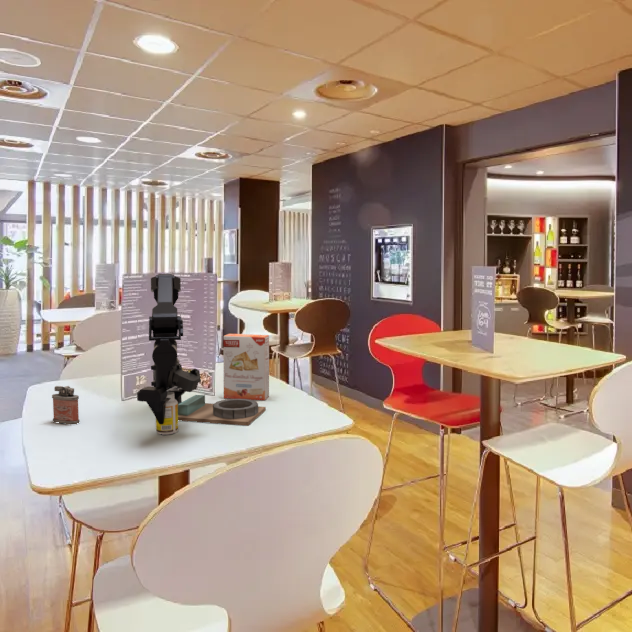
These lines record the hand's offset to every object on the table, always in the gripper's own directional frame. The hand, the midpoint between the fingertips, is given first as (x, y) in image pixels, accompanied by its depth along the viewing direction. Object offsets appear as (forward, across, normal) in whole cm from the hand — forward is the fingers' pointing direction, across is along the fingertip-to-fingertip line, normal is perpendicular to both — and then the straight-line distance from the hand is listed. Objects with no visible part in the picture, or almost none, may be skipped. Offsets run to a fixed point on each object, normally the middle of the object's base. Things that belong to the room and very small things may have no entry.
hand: (167, 420), depth 134 cm
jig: (+3, +18, -7) cm, 20 cm away
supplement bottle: (+3, 0, 0) cm, 3 cm away
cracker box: (+3, +39, -8) cm, 40 cm away
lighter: (+3, +2, +31) cm, 31 cm away
